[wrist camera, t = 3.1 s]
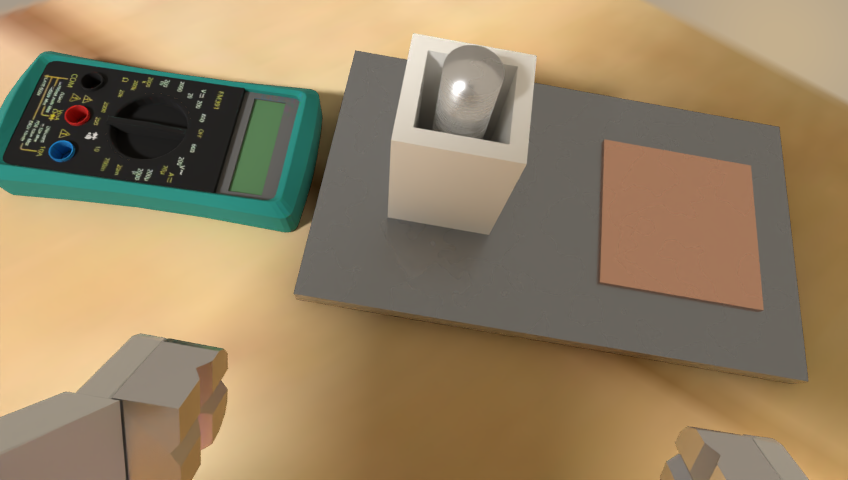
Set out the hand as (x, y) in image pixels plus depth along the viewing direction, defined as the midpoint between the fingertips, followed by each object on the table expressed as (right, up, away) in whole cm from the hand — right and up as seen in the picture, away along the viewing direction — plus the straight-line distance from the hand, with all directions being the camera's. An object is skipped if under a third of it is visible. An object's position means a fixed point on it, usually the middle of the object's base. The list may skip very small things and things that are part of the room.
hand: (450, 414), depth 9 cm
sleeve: (+1, +6, +17) cm, 18 cm away
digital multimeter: (-13, +7, +18) cm, 24 cm away
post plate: (+6, +5, +18) cm, 20 cm away
